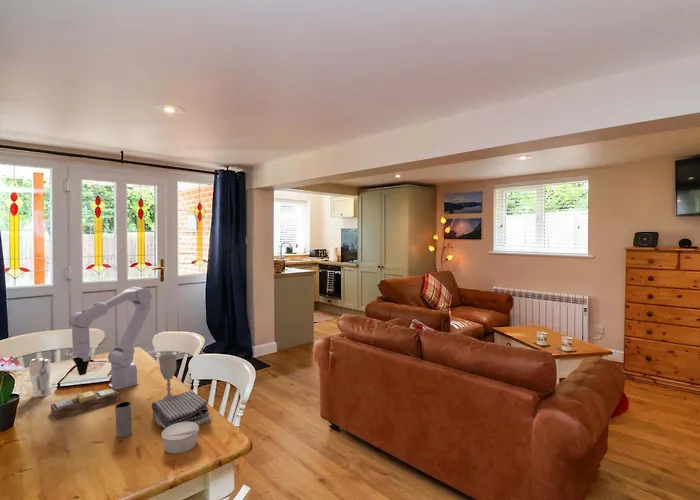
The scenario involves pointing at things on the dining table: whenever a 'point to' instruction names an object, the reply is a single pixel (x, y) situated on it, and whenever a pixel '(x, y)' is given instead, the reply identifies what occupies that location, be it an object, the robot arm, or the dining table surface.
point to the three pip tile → (63, 404)
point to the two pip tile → (85, 396)
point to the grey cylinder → (123, 419)
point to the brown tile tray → (85, 405)
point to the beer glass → (40, 376)
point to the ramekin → (180, 437)
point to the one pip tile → (106, 392)
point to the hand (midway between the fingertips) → (82, 374)
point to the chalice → (168, 370)
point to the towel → (181, 409)
